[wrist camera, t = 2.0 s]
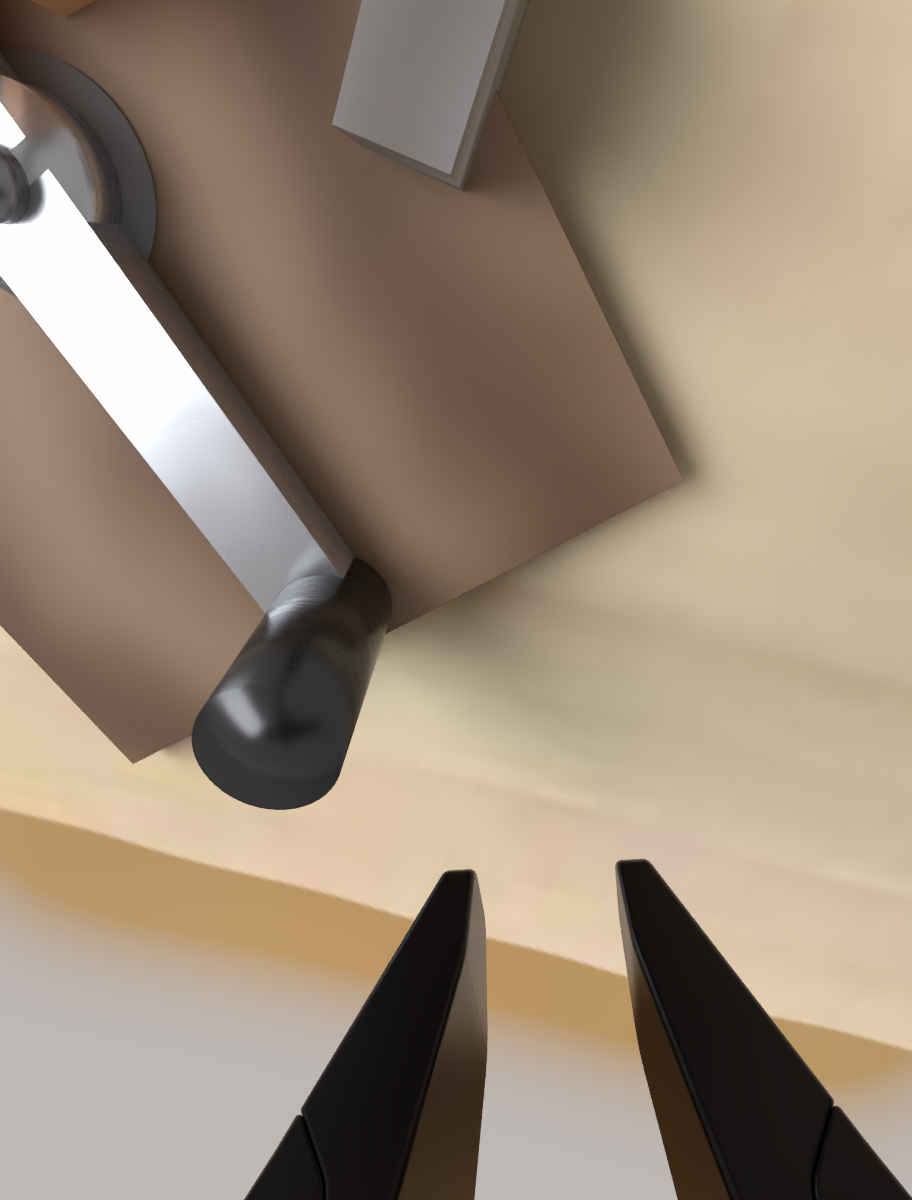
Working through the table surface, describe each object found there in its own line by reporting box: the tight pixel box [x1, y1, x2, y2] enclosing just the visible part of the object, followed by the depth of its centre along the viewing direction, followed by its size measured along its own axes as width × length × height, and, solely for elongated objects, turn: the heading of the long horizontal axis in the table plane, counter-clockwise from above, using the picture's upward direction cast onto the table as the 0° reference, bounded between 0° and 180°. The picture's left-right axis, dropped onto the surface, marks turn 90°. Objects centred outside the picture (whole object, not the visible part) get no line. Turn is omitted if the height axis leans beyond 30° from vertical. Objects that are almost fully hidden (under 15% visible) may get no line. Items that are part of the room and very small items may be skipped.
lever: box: [0, 52, 392, 810], centre depth 13 cm, size 4×17×6 cm, turn 31°
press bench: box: [0, 0, 683, 764], centre depth 15 cm, size 20×17×4 cm
